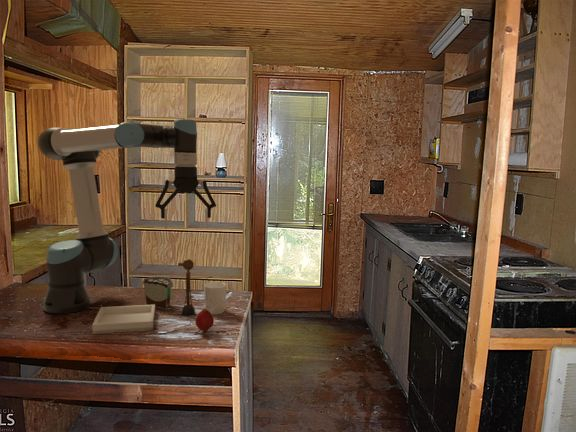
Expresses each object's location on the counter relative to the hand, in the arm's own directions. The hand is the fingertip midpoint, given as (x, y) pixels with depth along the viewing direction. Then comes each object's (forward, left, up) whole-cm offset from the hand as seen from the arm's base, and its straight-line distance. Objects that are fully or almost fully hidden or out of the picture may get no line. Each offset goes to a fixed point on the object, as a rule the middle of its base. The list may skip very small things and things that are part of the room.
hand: (186, 227), depth 154 cm
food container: (-9, +11, -31) cm, 34 cm away
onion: (+5, -17, -31) cm, 36 cm away
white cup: (+10, +1, -31) cm, 33 cm away
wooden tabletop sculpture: (0, 0, -31) cm, 31 cm away
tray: (-20, -5, -31) cm, 37 cm away
